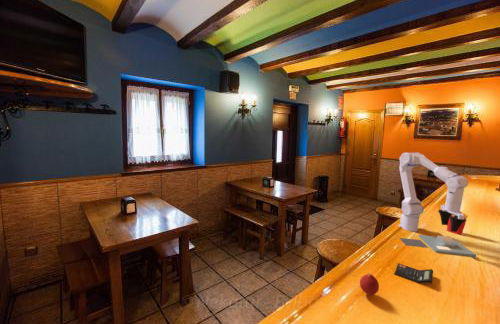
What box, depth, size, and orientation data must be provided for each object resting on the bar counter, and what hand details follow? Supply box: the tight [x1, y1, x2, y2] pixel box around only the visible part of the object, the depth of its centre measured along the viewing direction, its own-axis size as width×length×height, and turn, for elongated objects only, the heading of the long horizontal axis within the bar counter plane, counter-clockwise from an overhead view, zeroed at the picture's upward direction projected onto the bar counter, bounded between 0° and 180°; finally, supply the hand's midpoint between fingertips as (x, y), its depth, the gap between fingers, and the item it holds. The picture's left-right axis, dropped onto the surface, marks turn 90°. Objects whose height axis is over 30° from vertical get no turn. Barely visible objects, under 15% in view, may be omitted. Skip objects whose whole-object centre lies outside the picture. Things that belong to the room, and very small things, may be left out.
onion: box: [359, 272, 380, 296], centre depth 82 cm, size 6×6×8 cm
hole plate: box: [418, 234, 477, 260], centre depth 117 cm, size 16×16×2 cm
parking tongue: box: [398, 237, 429, 249], centre depth 119 cm, size 8×10×1 cm
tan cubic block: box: [436, 235, 455, 247], centre depth 117 cm, size 5×5×5 cm
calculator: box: [393, 263, 434, 284], centre depth 94 cm, size 9×12×3 cm
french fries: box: [446, 211, 469, 236], centre depth 134 cm, size 8×4×12 cm, turn 34°
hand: (448, 227), depth 116 cm, fingers open, 7 cm apart
